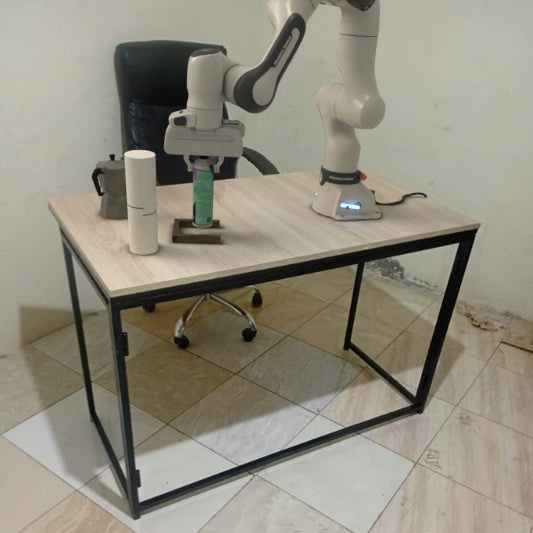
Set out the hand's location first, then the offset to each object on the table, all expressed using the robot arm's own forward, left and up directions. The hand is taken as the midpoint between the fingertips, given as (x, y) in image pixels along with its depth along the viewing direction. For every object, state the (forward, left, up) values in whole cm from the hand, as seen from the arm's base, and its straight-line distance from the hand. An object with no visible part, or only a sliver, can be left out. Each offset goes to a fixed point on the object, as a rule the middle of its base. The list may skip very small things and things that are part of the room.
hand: (203, 171), depth 133 cm
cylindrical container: (+15, +10, -18) cm, 26 cm away
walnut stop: (+2, 0, -18) cm, 18 cm away
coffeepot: (+26, -12, -18) cm, 34 cm away
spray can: (0, 0, -15) cm, 15 cm away
